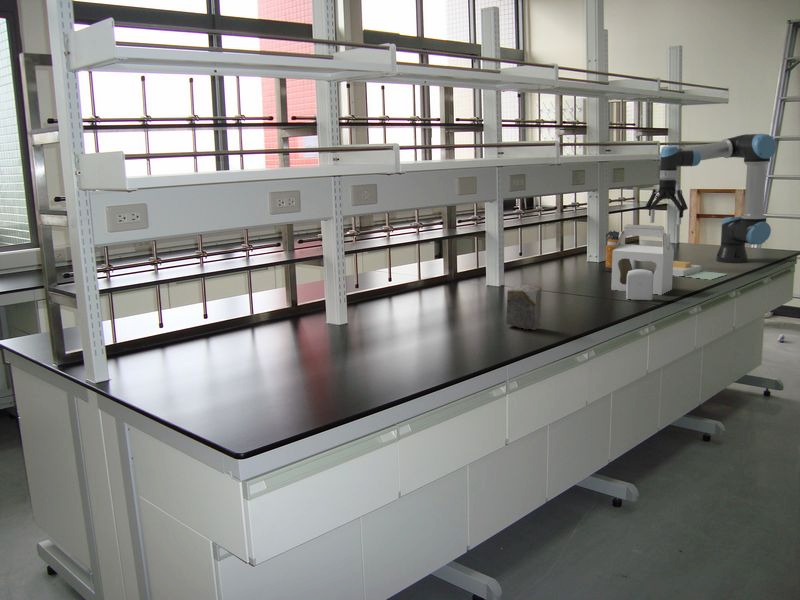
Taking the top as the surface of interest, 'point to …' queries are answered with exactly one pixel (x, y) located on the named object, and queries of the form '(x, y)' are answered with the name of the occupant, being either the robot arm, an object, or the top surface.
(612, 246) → the canister
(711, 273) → the mat
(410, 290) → the top surface
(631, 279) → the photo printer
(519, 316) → the geological specimen
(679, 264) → the light orange flat block
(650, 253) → the gable box
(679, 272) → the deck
